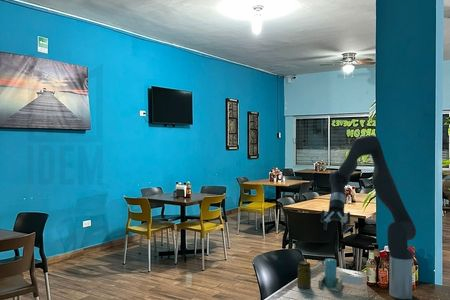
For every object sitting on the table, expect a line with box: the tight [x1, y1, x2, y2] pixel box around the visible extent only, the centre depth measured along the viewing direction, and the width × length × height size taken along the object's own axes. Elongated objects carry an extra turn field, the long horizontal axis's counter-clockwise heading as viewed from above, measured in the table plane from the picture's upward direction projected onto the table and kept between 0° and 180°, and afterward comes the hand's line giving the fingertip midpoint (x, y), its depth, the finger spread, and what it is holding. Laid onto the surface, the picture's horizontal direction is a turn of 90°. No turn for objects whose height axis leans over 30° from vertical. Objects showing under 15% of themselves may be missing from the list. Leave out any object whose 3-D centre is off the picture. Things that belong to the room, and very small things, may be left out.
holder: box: [317, 274, 344, 292], centre depth 187 cm, size 10×10×4 cm
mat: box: [338, 274, 364, 286], centre depth 196 cm, size 11×11×1 cm
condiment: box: [297, 260, 312, 290], centre depth 185 cm, size 7×8×12 cm
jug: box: [324, 258, 337, 288], centre depth 186 cm, size 5×7×12 cm
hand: (334, 230), depth 197 cm, fingers open, 8 cm apart
